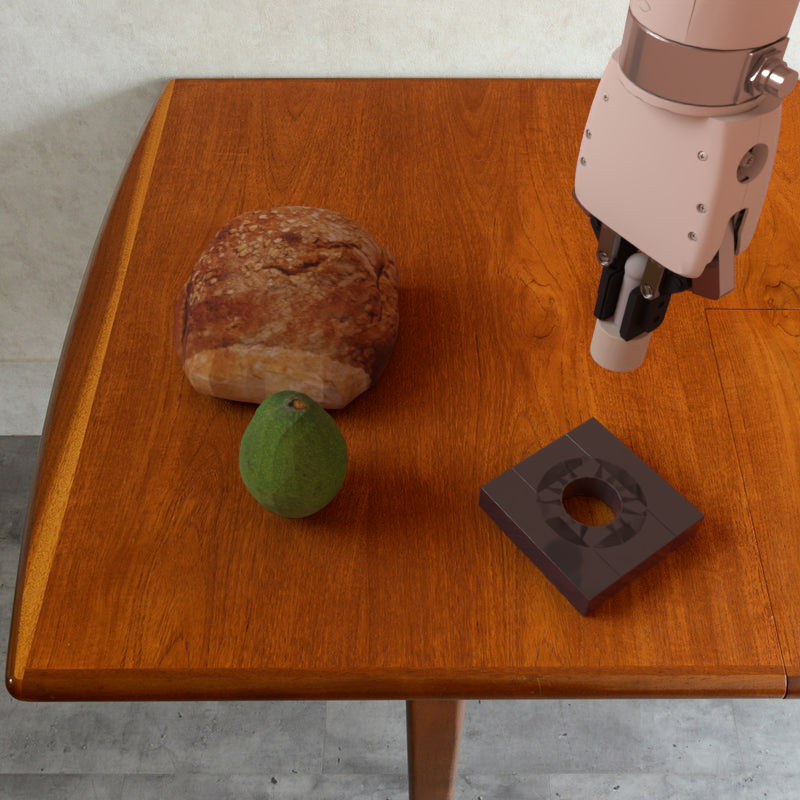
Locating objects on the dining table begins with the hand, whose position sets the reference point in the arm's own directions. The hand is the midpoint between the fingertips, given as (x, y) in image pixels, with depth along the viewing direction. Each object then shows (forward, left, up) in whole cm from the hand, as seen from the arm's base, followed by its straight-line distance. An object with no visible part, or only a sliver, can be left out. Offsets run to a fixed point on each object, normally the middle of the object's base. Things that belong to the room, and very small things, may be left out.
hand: (626, 318), depth 58 cm
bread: (+11, -28, -19) cm, 35 cm away
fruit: (+19, -13, -19) cm, 29 cm away
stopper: (0, 0, -3) cm, 3 cm away
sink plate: (+2, +2, -19) cm, 19 cm away
